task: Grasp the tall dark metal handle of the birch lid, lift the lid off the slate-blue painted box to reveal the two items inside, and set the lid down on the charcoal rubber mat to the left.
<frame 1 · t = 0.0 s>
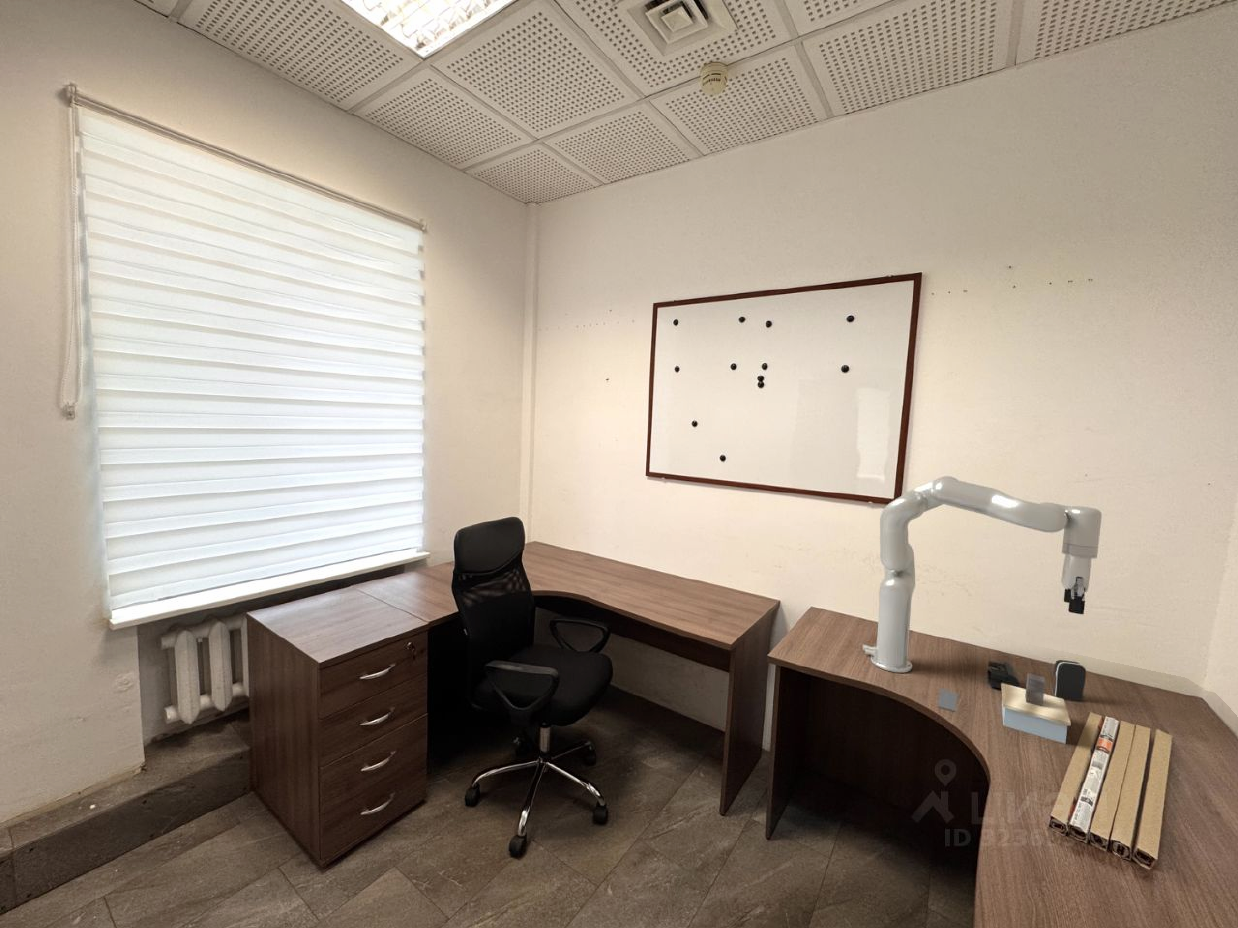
hand: (1073, 607, 146), 31 cm above the table, fingers open, 9 cm apart
mat: (958, 703, 151), on the table
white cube: (1043, 729, 139), point 1 cm above the table, touching box
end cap: (1002, 687, 161), on the table
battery: (1066, 697, 156), on the table
lid: (1033, 704, 141), point 6 cm above the table, touching box
cork ball: (1020, 710, 145), point 2 cm above the table, touching box
box: (1031, 724, 142), on the table
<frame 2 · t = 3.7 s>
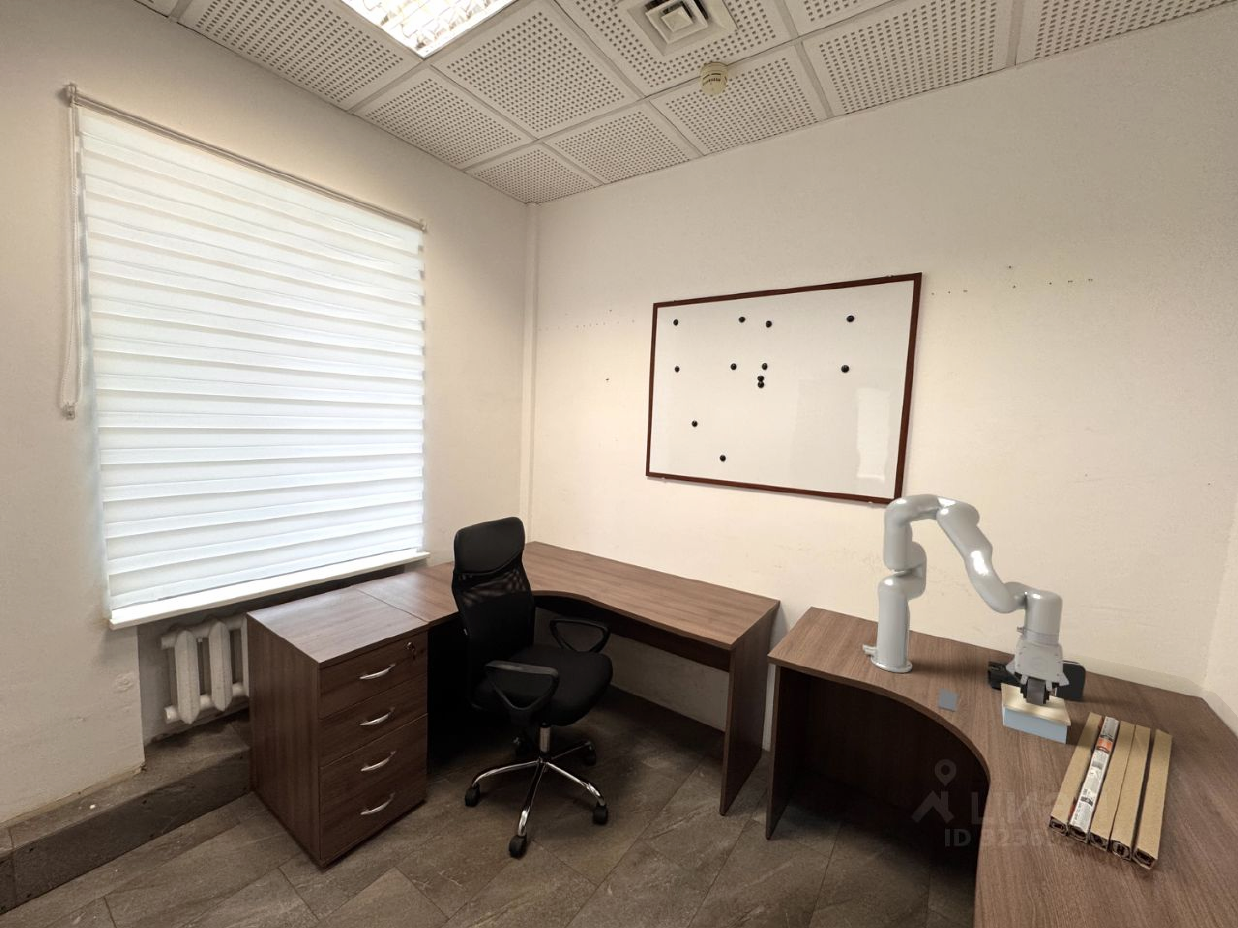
hand: (1034, 698, 141), 8 cm above the table, fingers closed on lid, 3 cm apart
lid: (1033, 704, 141), point 6 cm above the table, touching gripper
everything else where it was.
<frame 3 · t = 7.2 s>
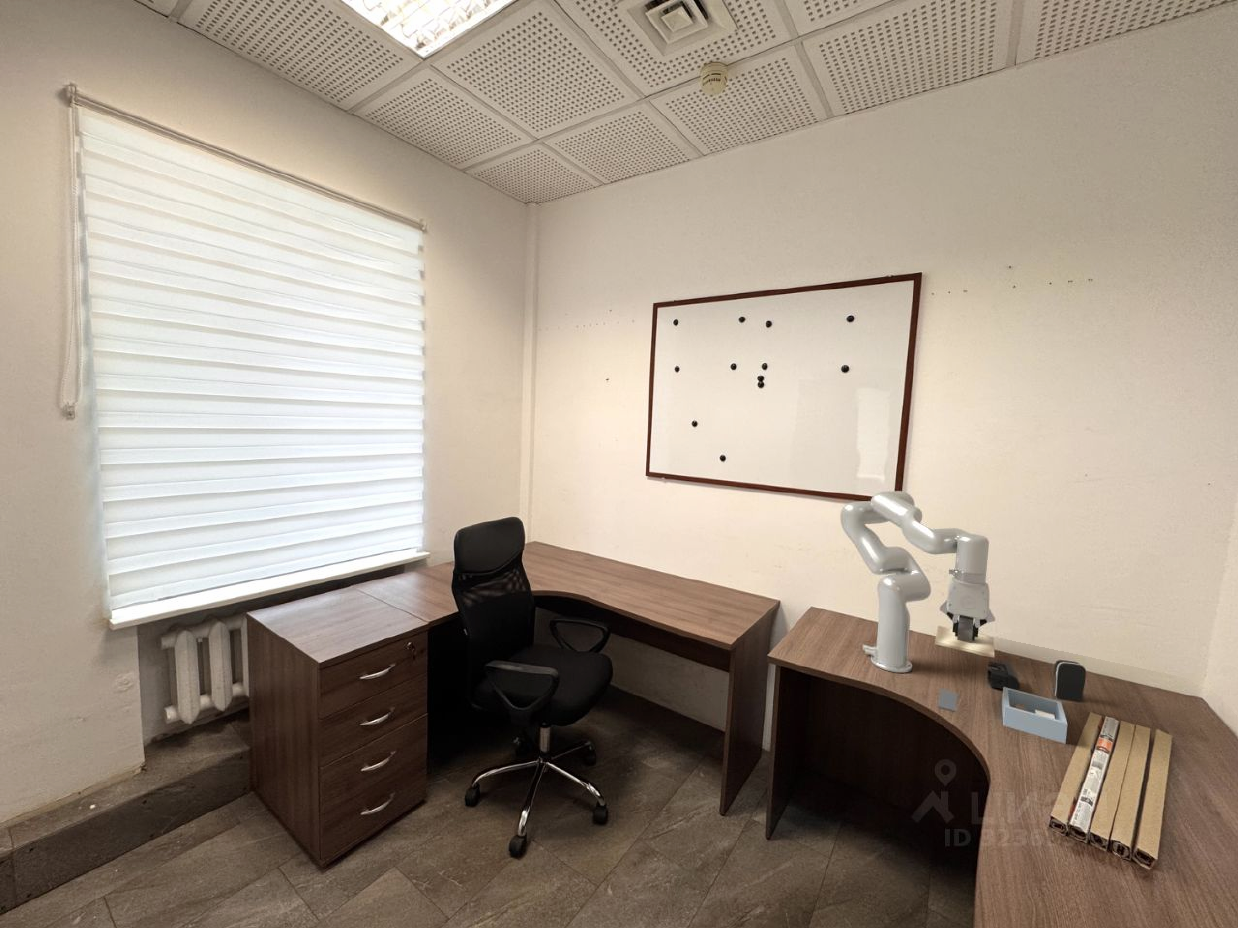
hand: (964, 636, 149), 21 cm above the table, fingers closed on lid, 3 cm apart
lid: (964, 641, 149), point 19 cm above the table, touching gripper
everything else where it was.
when the fingers open (5 cm above the table, at t = 10.7 s): lid drops 1 cm, resting on mat.
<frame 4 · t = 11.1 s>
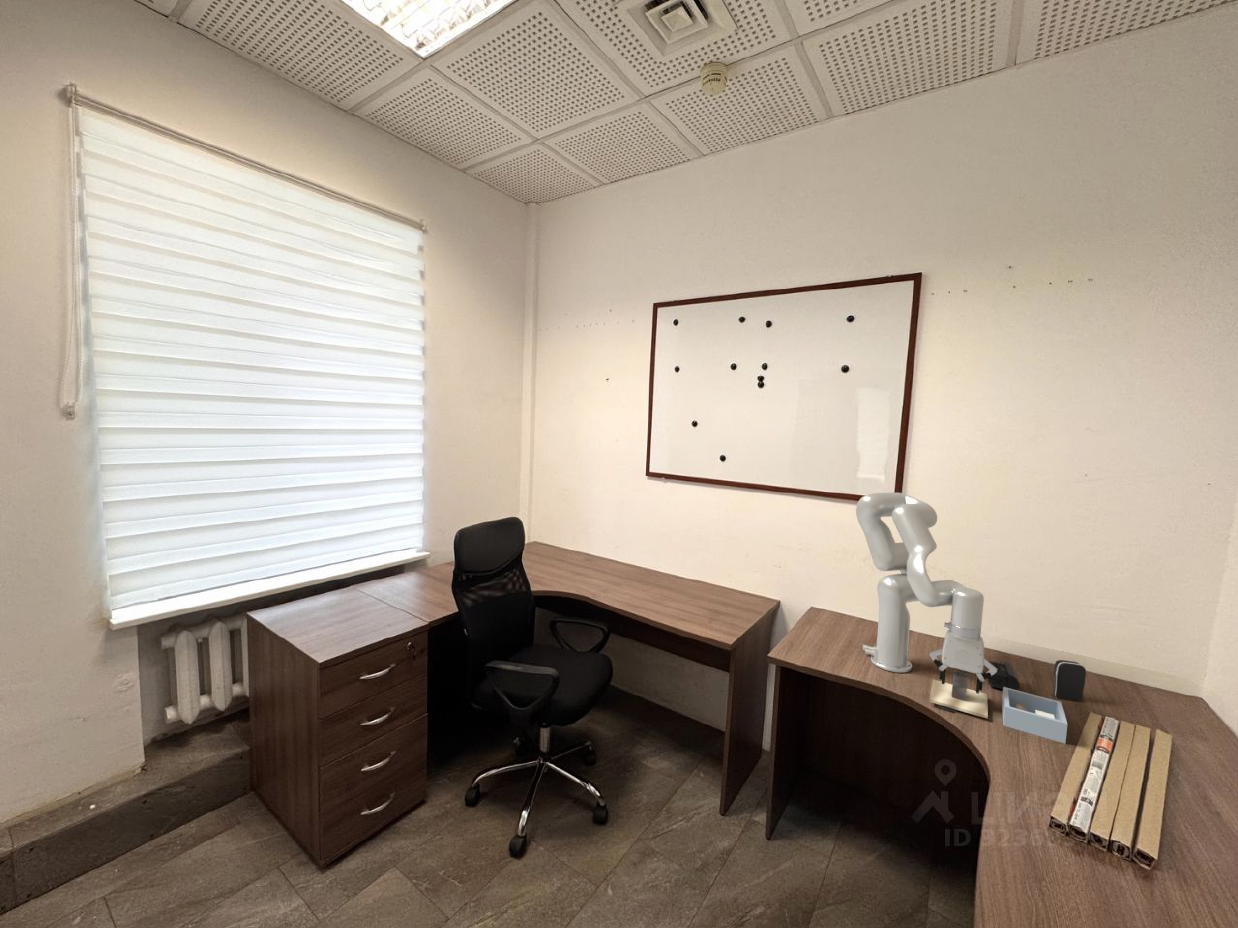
hand: (960, 686, 151), 5 cm above the table, fingers open, 8 cm apart
lid: (958, 698, 151), point 1 cm above the table, touching mat
everything else where it was.
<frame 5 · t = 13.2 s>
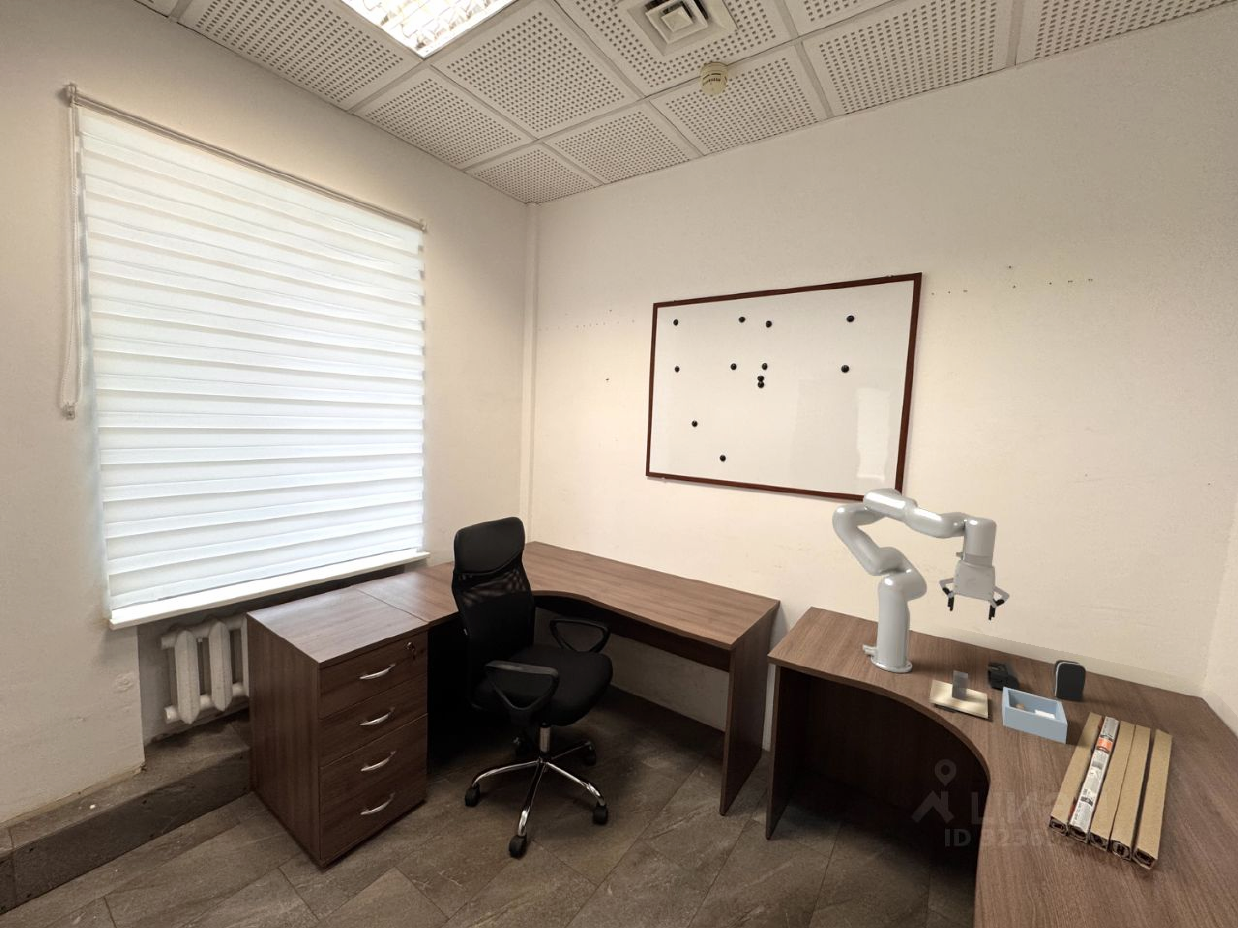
hand: (970, 614, 152), 26 cm above the table, fingers open, 9 cm apart
nothing on the table moved.
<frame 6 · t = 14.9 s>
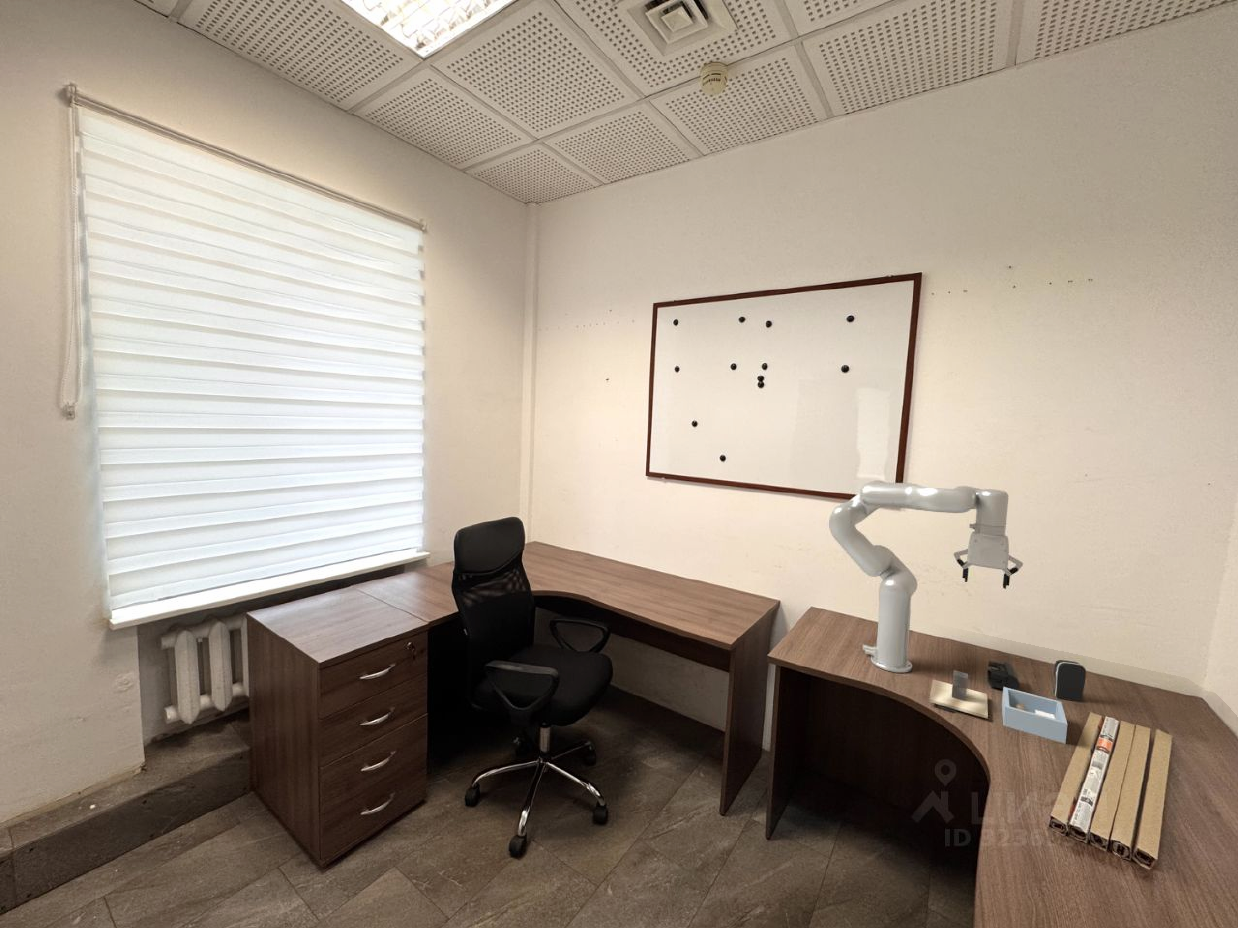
hand: (984, 584, 156), 34 cm above the table, fingers open, 9 cm apart
nothing on the table moved.
at the end: lid inside the target area on the mat (0.1 cm from its centre), point 1.4 cm above the mat's base; lid touching mat; lid tilted 0° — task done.
